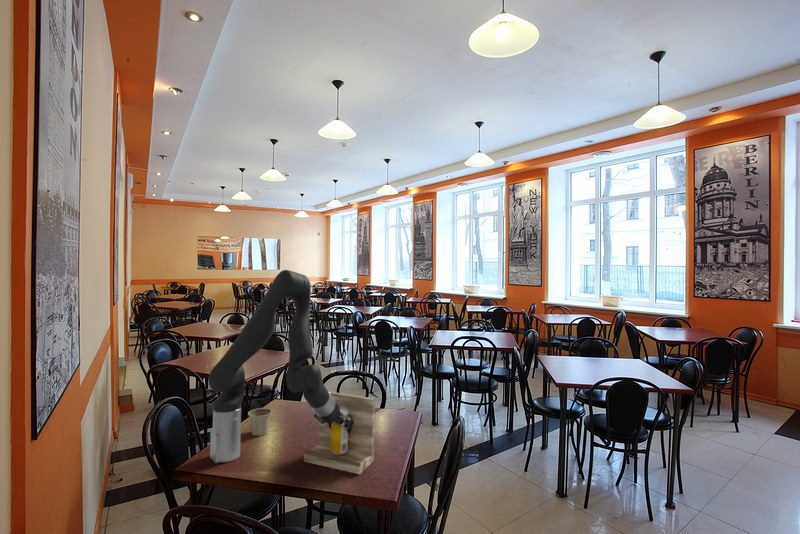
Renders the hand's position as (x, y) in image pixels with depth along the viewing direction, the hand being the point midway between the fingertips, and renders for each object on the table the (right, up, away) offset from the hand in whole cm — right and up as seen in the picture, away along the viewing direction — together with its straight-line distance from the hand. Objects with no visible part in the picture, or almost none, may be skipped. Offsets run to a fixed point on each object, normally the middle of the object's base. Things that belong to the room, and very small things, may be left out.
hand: (342, 429), depth 145 cm
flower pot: (-37, -10, +22) cm, 44 cm away
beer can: (-1, -7, -2) cm, 8 cm away
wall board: (-1, -10, -2) cm, 11 cm away
